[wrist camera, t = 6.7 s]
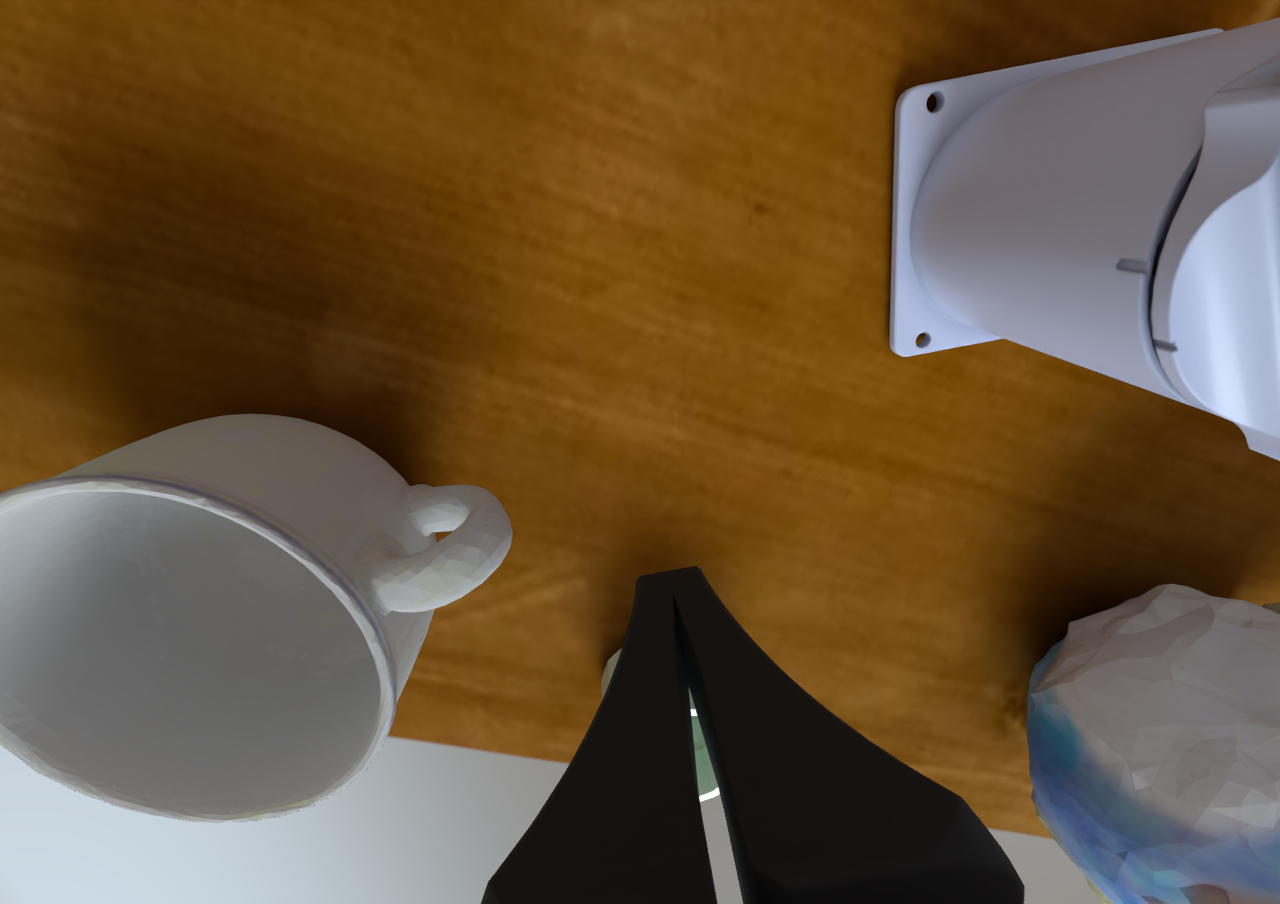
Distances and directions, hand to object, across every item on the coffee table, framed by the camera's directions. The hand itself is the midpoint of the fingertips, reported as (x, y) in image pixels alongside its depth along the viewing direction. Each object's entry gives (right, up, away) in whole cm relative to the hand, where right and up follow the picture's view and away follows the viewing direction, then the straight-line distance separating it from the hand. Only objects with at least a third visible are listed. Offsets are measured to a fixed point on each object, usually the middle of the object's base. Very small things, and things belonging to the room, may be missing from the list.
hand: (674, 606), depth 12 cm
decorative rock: (+23, -7, +15) cm, 28 cm away
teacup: (-11, +1, +9) cm, 14 cm away
